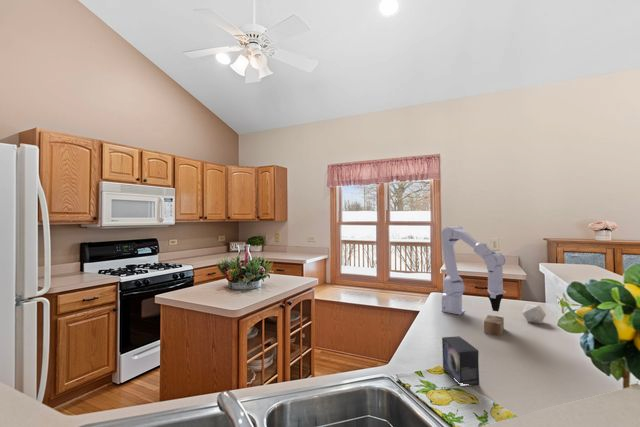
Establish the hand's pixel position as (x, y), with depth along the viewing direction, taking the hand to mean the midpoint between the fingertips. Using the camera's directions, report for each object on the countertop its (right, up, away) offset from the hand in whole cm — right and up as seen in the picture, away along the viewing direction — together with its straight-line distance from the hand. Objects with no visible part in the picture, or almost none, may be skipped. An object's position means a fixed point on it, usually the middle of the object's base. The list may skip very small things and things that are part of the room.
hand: (495, 310), depth 131 cm
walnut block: (0, -5, -1) cm, 5 cm away
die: (+21, -7, +5) cm, 22 cm away
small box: (-35, -7, -40) cm, 54 cm away
